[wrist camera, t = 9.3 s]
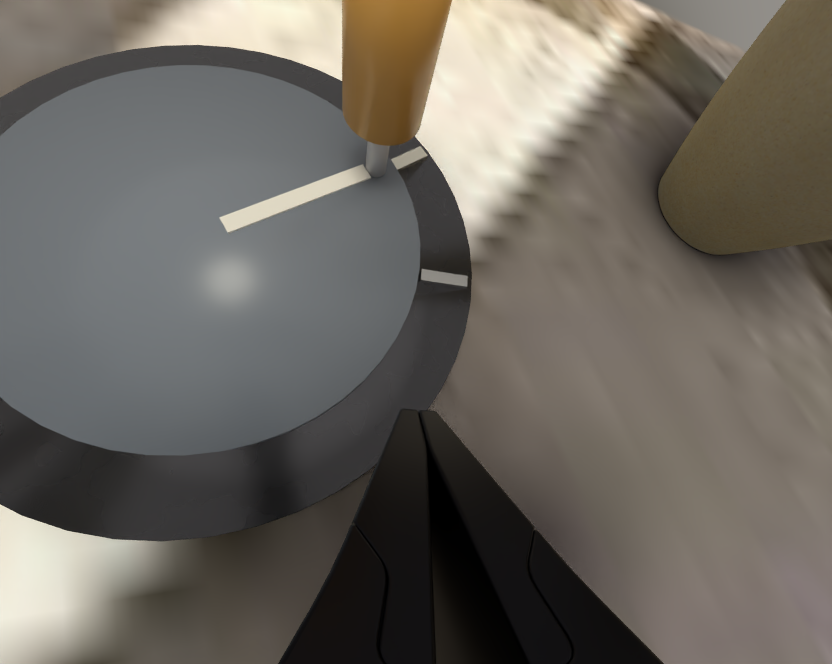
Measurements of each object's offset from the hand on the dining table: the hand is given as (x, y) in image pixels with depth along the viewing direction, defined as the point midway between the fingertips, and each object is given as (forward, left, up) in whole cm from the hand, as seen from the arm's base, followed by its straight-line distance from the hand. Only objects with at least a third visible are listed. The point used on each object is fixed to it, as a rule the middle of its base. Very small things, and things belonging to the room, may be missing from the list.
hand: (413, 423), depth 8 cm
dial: (+2, +11, -7) cm, 13 cm away
